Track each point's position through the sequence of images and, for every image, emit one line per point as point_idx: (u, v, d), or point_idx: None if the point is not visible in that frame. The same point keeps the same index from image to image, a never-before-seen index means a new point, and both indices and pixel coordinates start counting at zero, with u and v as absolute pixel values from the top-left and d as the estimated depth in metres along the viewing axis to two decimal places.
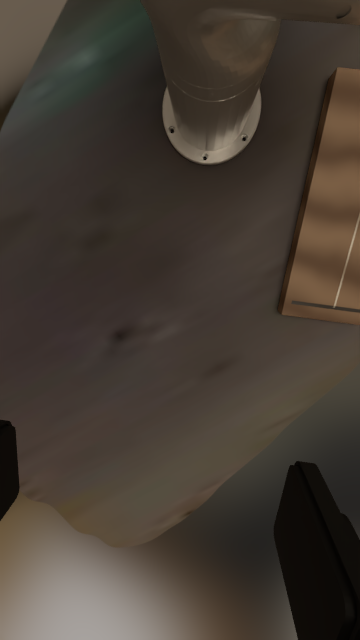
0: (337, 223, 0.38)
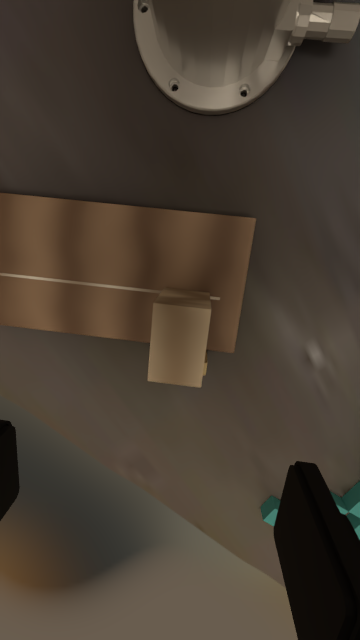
0: (58, 252, 0.26)
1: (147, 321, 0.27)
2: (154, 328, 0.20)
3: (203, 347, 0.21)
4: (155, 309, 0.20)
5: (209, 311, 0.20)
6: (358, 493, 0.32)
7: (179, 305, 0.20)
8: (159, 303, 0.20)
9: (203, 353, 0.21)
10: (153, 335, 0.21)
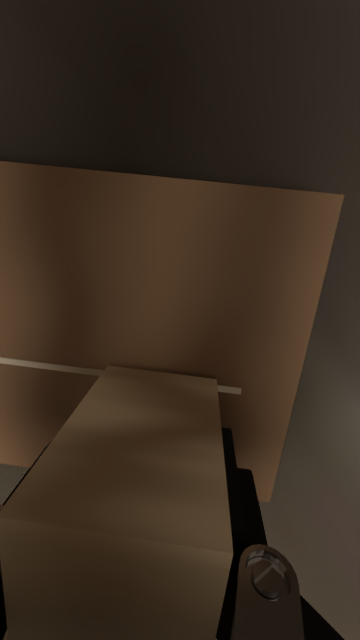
0: None
1: None
2: (14, 592, 0.05)
3: None
4: (8, 537, 0.05)
5: (225, 558, 0.05)
6: None
7: (104, 522, 0.05)
8: (23, 514, 0.05)
9: None
10: (14, 612, 0.06)
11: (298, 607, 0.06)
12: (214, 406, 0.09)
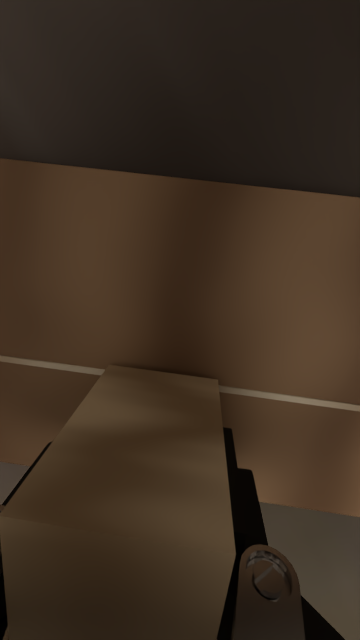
0: (151, 314, 0.10)
1: (351, 472, 0.11)
2: (16, 592, 0.05)
3: None
4: (10, 536, 0.05)
5: (227, 559, 0.05)
6: None
7: (106, 522, 0.05)
8: (26, 513, 0.05)
9: None
10: (15, 611, 0.06)
11: (299, 607, 0.06)
12: (215, 406, 0.09)
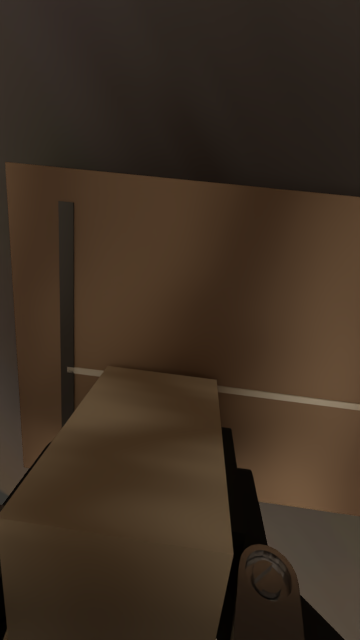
0: None
1: None
2: (14, 594, 0.05)
3: None
4: (8, 538, 0.05)
5: (225, 559, 0.05)
6: None
7: (104, 523, 0.05)
8: (23, 515, 0.05)
9: None
10: (14, 613, 0.06)
11: (298, 606, 0.06)
12: (214, 407, 0.09)
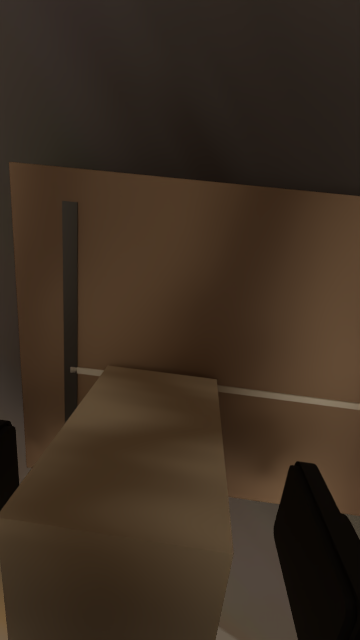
0: None
1: None
2: (14, 593, 0.05)
3: None
4: (8, 537, 0.05)
5: (225, 558, 0.05)
6: None
7: (104, 522, 0.05)
8: (23, 514, 0.05)
9: None
10: (14, 612, 0.06)
11: None
12: (214, 406, 0.09)
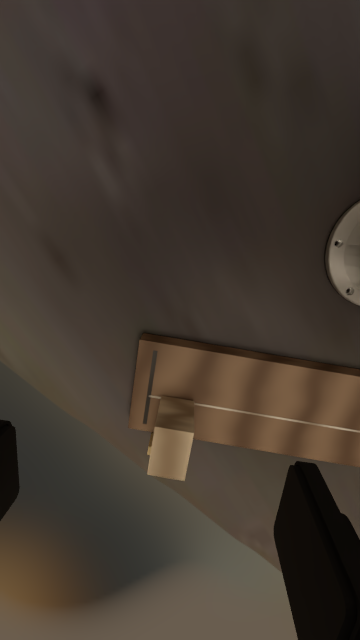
0: (244, 392, 0.35)
1: (301, 442, 0.36)
2: (154, 442, 0.30)
3: (187, 455, 0.30)
4: (156, 430, 0.29)
5: (192, 434, 0.29)
6: None
7: (172, 428, 0.29)
8: (158, 426, 0.29)
9: (187, 459, 0.30)
10: (153, 446, 0.30)
11: None
12: (192, 409, 0.33)
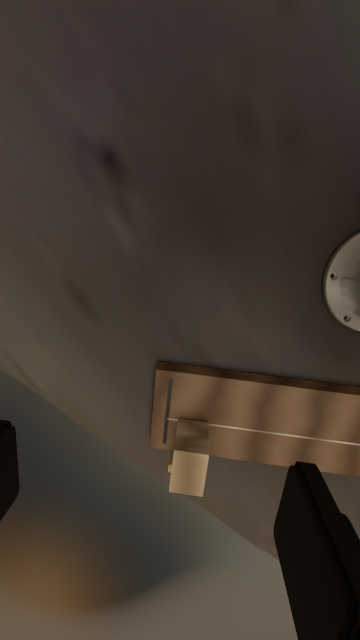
0: (253, 413, 0.38)
1: (309, 456, 0.39)
2: (174, 463, 0.33)
3: (204, 474, 0.33)
4: (175, 453, 0.33)
5: (208, 455, 0.33)
6: None
7: (189, 451, 0.33)
8: (177, 449, 0.33)
9: (204, 478, 0.34)
10: (173, 467, 0.33)
11: None
12: (207, 430, 0.37)
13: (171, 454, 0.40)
